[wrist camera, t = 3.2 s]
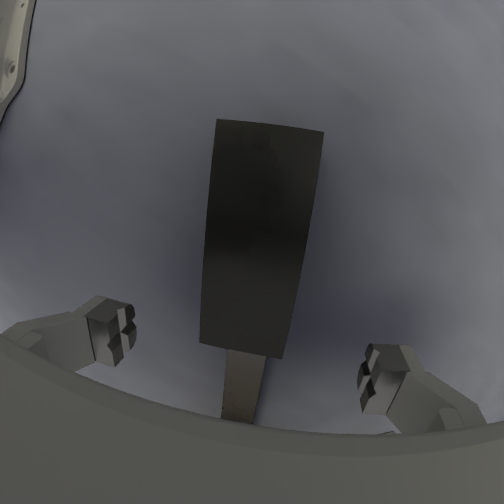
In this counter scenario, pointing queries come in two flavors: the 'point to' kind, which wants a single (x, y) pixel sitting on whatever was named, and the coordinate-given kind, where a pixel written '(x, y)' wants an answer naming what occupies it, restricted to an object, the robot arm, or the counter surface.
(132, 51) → the counter surface
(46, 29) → the counter surface
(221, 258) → the dark grey elongated piece
